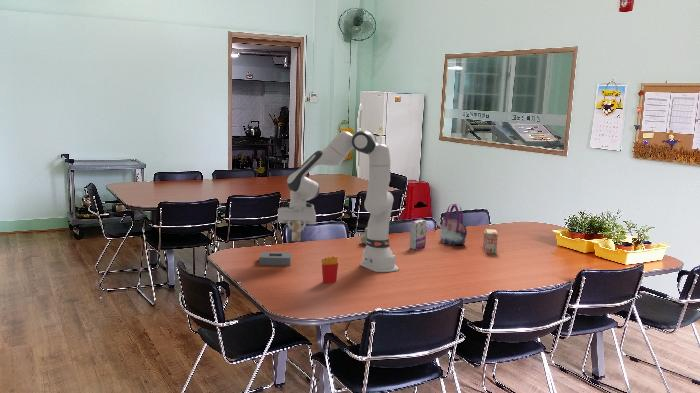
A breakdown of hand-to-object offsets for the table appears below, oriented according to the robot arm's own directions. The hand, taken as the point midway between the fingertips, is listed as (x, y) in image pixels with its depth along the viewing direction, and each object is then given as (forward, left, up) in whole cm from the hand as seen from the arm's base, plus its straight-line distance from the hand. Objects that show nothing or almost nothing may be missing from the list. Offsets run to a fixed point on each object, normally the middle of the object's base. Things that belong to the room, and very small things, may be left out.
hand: (296, 229), depth 307 cm
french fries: (-36, -6, -18) cm, 41 cm away
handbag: (+24, -109, -18) cm, 113 cm away
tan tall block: (+1, 0, -6) cm, 6 cm away
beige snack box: (+4, -123, -18) cm, 125 cm away
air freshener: (+33, -56, -18) cm, 67 cm away
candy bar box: (+18, -81, -18) cm, 85 cm away
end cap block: (+4, +10, -18) cm, 21 cm away
